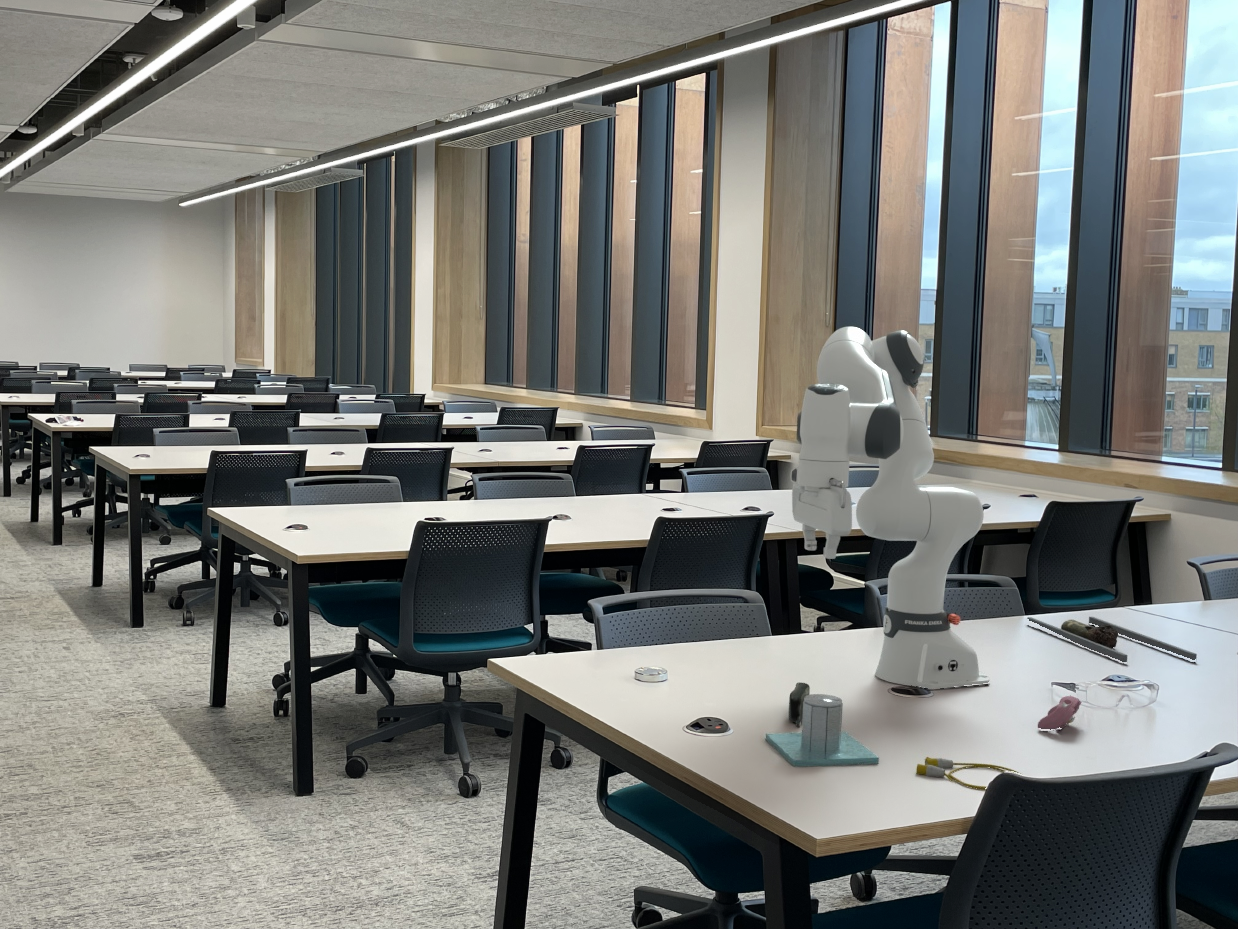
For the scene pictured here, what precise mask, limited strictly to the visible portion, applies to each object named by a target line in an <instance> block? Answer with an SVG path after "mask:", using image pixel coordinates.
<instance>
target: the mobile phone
mask: <svg viewBox="0 0 1238 929" xmlns="http://www.w3.org/2000/svg"><path fill="white" fill-rule="evenodd" d="M810 689H811V688H810V685H809V684H808V683H806V682H797V683H796V684H795V687H794V689H793V690H792V691H790V694H789V697H788V698H789V700H788V720H789V721H790V722H792V723H795V724H796V727H797V728H800V727H801V724H802V718H803V702H804V697H805V696H807V695H810Z"/></svg>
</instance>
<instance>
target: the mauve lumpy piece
mask: <svg viewBox="0 0 1238 929" xmlns="http://www.w3.org/2000/svg"><path fill="white" fill-rule="evenodd" d="M1058 703H1059V704H1057V705H1054V706H1053V707H1051V708H1050V709H1049V710H1048V711H1047V715H1045V716H1044V717H1042V718H1041V719H1039V721H1038V722H1037V729H1038V728H1041V729H1050V730H1051V729H1055V730H1058V729H1057V728H1059V727H1060V728H1063V727H1064V728H1065V727H1066V726H1067V725H1066V723H1067V724H1068V723H1070V724H1072V723H1073V722H1074V721H1075V719H1076V717H1075V716H1074V715H1075V714H1076V713H1078V711H1079V710H1080V706H1081V704H1082V701H1081V700H1080V699H1079V698H1078V697H1077V696H1072V695H1066V696H1063V697H1061V699H1060V700H1059V702H1058ZM1065 725H1066V726H1065ZM1064 728H1063V729H1064Z"/></svg>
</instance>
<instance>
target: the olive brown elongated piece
mask: <svg viewBox="0 0 1238 929" xmlns="http://www.w3.org/2000/svg"><path fill="white" fill-rule="evenodd" d="M1060 629H1062V630H1065V631H1067V632H1070V633H1072V634H1075V635H1077V636H1080V637H1083V638H1085V639H1088V640H1090V641H1093V642H1095V643H1098V644H1100V645H1103V646H1105V647H1108V648H1111V649H1113V650H1114V648H1116V647H1117V643H1118V633H1117V630H1116V629H1114V628H1113V627H1112V626H1111V625H1103V626H1099V627H1094V626H1091V625H1089V624H1086V623H1083V622H1080V621H1078V620H1074V619H1067V620H1065V621H1064V622H1063V623H1062V624H1061V626H1060ZM1113 647H1114V648H1113Z"/></svg>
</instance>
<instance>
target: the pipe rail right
mask: <svg viewBox="0 0 1238 929" xmlns="http://www.w3.org/2000/svg"><path fill="white" fill-rule="evenodd" d="M1089 623H1092V624H1095V625H1098V626H1103V625H1111V626H1112V627H1113V628H1114V629H1116V630H1117V633H1119V634H1121V635H1125V636H1127V637H1129V638H1132V639H1135V640H1138V641H1141V642H1144V643H1147V644H1150V645H1152V646H1156V647H1159V648H1162V649H1165V650H1167V651H1171V652H1173V653H1176V654H1178V655H1182V656H1184V657H1187V658H1190V659H1192V660H1195V659H1196V660H1197V658H1198V657H1197V655H1198V654H1197V653H1195V652H1192V651H1190V650H1186V649H1183V648H1181V647H1179V646H1175V645H1173V644H1170V643H1167V642H1164V641H1162V640H1160V639H1156V638H1153V637H1151V636H1148V635H1145V634H1142V633H1139V632H1137V631H1133V630H1130V629H1128V628H1125V627H1123V626H1120V625H1117V624H1116V623H1115V624H1114V623H1112V622H1109V621H1106V620H1103V619H1101V618H1097V617H1095V616H1088V624H1089Z"/></svg>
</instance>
